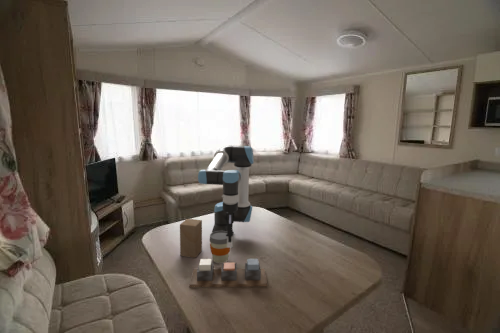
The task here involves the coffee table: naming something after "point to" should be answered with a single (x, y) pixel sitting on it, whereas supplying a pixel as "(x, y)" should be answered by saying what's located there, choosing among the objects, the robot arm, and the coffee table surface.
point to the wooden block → (190, 238)
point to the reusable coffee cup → (219, 246)
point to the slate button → (252, 264)
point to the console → (228, 277)
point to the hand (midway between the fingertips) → (229, 246)
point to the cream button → (205, 265)
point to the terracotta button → (229, 266)
